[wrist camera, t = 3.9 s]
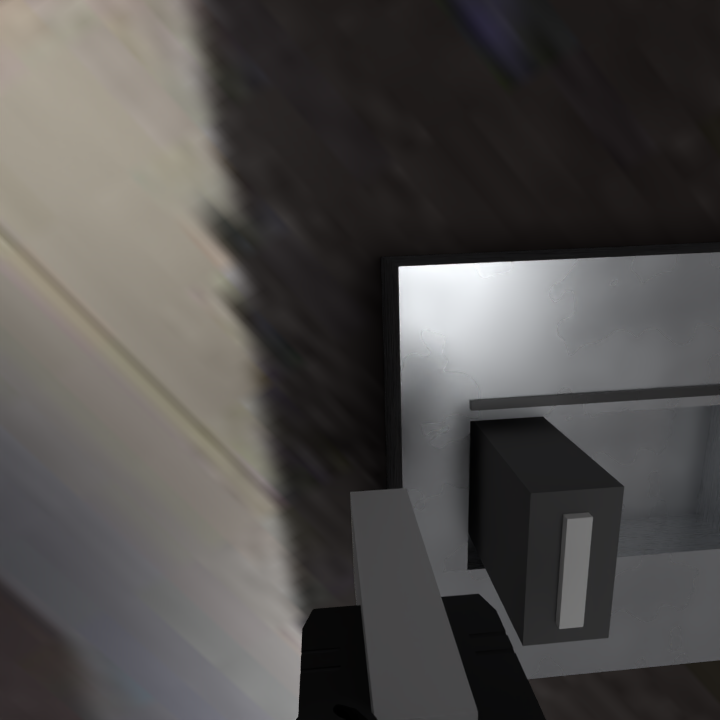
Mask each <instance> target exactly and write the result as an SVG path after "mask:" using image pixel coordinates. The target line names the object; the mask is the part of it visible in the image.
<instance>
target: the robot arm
mask: <svg viewBox="0 0 720 720" xmlns="http://www.w3.org/2000/svg"><path fill="white" fill-rule="evenodd" d="M350 499H351V520H352V541H353V562H354V582H355V592H356V603H357V605H356V606H344V607H332V608H320V609H313V610H312V612H311V614H310V616H309V618H308V619H307V621H306V623H305V625H304V627H303V629H302V649H301V652H302V655H301V674H300V693H299V714H298V718H297V719H296V720H546V719H545V717H544V715H543V712H542V710H541V708H540V706H539V704H538V701H537V699H536V697H535V695H534V693H533V690H532V688H531V686H530V684H529V681H528V679H527V677H526V675H525V673H524V670H523V668H522V666H521V664H520V662H519V659H518V657H517V655H516V653H514V650H513V646H512V644H511V642H510V639H509V637H508V635H506V631H505V628H504V626H503V624H502V622H501V619H500V617H499V615H498V613H497V611H496V609H494V608H493V607H492V606H491V605H490V604H489V603H488V602H487V601H486V600H485V599H484V598H483V597H482V596H481V595H480V594H468V595H456V596H444V597H441V595H440V592H439V589H438V586H437V583H436V579H435V576H434V573H433V570H432V567H431V564H430V561H429V558H428V554H427V551H426V548H425V545H424V542H423V539H422V536H421V533H420V529H419V526H418V523H417V520H416V517H415V514H414V511H413V508H412V504H411V501H410V498H409V495H408V492H407V489H406V488H401V489H387V490H372V491H358V492H350Z"/></svg>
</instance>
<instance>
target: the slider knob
mask: <svg viewBox="0 0 720 720" xmlns="http://www.w3.org/2000/svg"><path fill="white" fill-rule="evenodd" d="M623 494H624V486H623V485H622V484H621V483H620V482H619V481H617V480H616V479H615V478H614V477H613V476H612V475H610V474H609V473H608V472H607V471H606V470H605V469H603V468H602V467H601V466H600V465H599V464H598V463H597V462H595V461H594V460H593V459H592V458H591V457H590V456H588V455H587V454H586V453H585V452H584V451H583V450H581V449H580V448H579V447H578V446H577V445H576V444H574V443H573V442H572V441H571V440H570V439H569V438H567V437H566V436H565V435H564V434H563V433H562V432H560V431H559V430H558V429H557V428H556V427H555V426H554V425H552V424H551V423H550V422H549V421H548V420H547V419H545V418H544V417H543V416H542V417H526V418H511V419H496V420H480V421H470V454H469V508H468V534H469V536H470V538H471V540H472V542H473V544H474V546H475V548H476V551H477V553H478V555H479V557H480V559H481V561H482V563H483V565H484V567H485V569H486V571H487V573H488V575H489V577H490V579H491V582H492V584H493V586H494V588H495V590H496V592H497V594H498V596H499V598H500V600H501V602H502V604H503V606H504V608H505V610H506V613H507V615H508V617H509V619H510V621H511V623H512V625H513V627H514V629H515V631H516V633H517V635H518V637H519V639H520V641H521V643H522V646H529V645H540V644H550V643H561V642H571V641H582V640H592V639H603V638H609V629H610V619H611V610H612V600H613V590H614V581H615V571H616V562H617V552H618V542H619V533H620V523H621V514H622V504H623Z"/></svg>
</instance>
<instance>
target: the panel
mask: <svg viewBox="0 0 720 720" xmlns="http://www.w3.org/2000/svg"><path fill="white" fill-rule="evenodd" d="M381 280H382V317H383V355H384V392H385V430H386V468H387V489H401V488H406V489H407V492H408V495H409V498H410V501H411V504H412V508H413V511H414V514H415V517H416V520H417V523H418V526H419V529H420V533H421V536H422V539H423V542H424V545H425V548H426V551H427V554H428V558H429V561H430V564H431V567H432V570H433V573H434V576H435V579H436V583H437V586H438V589H439V592H440V595H441V597H444V596H456V595H468V594H480V595H481V596H482V597H483V598H484V599H485V600H486V601H487V602H488V603H489V604H490V605H491V606H492V607H493V608H494V609H496V611H497V613H498V615H499V617H500V619H501V622H502V624H503V626H504V628H505V631H506V635H508V637H509V639H510V642H511V644H512V646H513V650H514V653H516V655H517V657H518V659H519V662H520V664H521V666H522V668H523V670H524V673H525V675H526V677H527V679H534V678H544V677H554V676H564V675H574V674H584V673H594V672H604V671H614V670H624V669H635V668H645V667H655V666H665V665H675V664H685V663H695V662H705V661H715V660H720V242H714V243H691V244H668V245H645V246H622V247H599V248H576V249H553V250H530V251H507V252H484V253H461V254H438V255H415V256H392V257H381ZM542 416H543V417H544V418H545V419H547V420H548V421H549V422H550V423H551V424H552V425H554V426H555V427H556V428H557V429H558V430H559V431H560V432H562V433H563V434H564V435H565V436H566V437H567V438H569V439H570V440H571V441H572V442H573V443H574V444H576V445H577V446H578V447H579V448H580V449H581V450H583V451H584V452H585V453H586V454H587V455H588V456H590V457H591V458H592V459H593V460H594V461H595V462H597V463H598V464H599V465H600V466H601V467H602V468H603V469H605V470H606V471H607V472H608V473H609V474H610V475H612V476H613V477H614V478H615V479H616V480H617V481H619V482H620V483H621V484H622V485H623V486H624V494H623V504H622V514H621V523H620V533H619V542H618V552H617V562H616V571H615V581H614V590H613V600H612V610H611V619H610V629H609V638H603V639H592V640H582V641H571V642H561V643H550V644H540V645H529V646H522V643H521V641H520V639H519V637H518V635H517V633H516V631H515V629H514V627H513V625H512V623H511V621H510V619H509V617H508V615H507V613H506V610H505V608H504V606H503V604H502V602H501V600H500V598H499V596H498V594H497V592H496V590H495V588H494V586H493V584H492V582H491V579H490V577H489V575H488V573H487V571H486V569H485V567H484V565H483V563H482V561H481V559H480V557H479V555H478V553H477V551H476V548H475V546H474V544H473V542H472V540H471V538H470V536H469V534H468V508H469V454H470V421H480V420H496V419H511V418H526V417H542Z"/></svg>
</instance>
